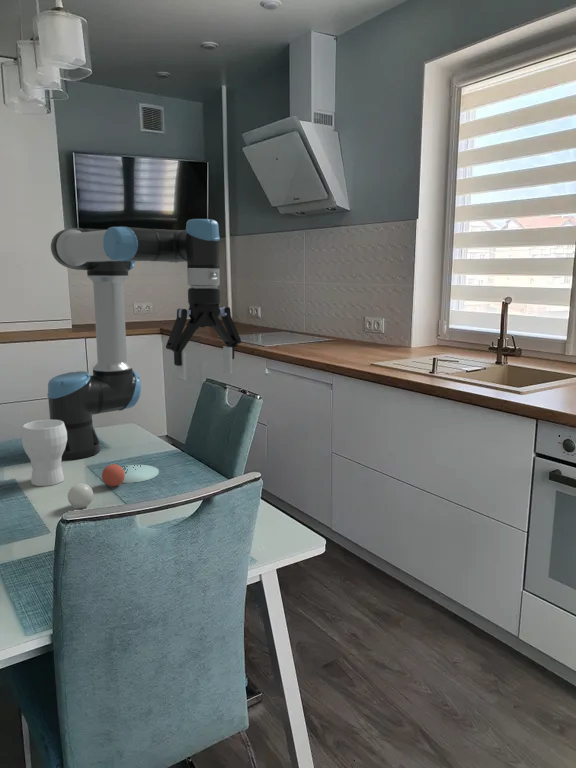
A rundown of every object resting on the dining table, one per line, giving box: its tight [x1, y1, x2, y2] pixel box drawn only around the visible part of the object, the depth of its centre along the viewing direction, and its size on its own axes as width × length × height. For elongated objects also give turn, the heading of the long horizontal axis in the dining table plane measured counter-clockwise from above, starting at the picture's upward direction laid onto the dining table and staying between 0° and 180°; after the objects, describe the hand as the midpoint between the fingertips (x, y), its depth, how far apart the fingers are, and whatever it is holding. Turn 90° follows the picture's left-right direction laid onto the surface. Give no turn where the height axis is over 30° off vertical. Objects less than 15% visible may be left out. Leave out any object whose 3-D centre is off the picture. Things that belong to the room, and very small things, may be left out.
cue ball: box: [67, 483, 94, 509], centre depth 132 cm, size 6×6×6 cm
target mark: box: [121, 464, 160, 484], centre depth 155 cm, size 14×14×1 cm
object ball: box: [101, 463, 125, 488], centre depth 146 cm, size 6×6×6 cm
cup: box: [20, 419, 67, 487], centre depth 148 cm, size 11×11×15 cm
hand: (205, 376), depth 142 cm, fingers open, 13 cm apart
